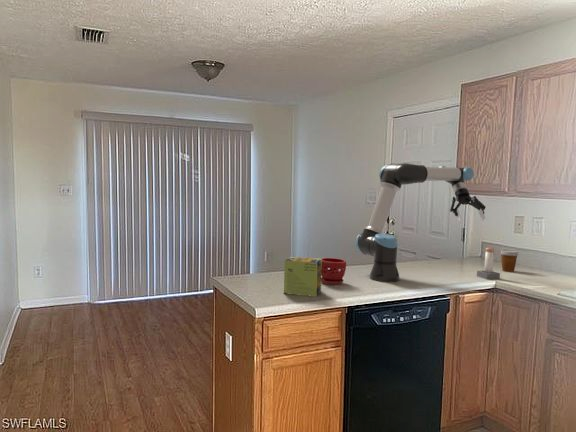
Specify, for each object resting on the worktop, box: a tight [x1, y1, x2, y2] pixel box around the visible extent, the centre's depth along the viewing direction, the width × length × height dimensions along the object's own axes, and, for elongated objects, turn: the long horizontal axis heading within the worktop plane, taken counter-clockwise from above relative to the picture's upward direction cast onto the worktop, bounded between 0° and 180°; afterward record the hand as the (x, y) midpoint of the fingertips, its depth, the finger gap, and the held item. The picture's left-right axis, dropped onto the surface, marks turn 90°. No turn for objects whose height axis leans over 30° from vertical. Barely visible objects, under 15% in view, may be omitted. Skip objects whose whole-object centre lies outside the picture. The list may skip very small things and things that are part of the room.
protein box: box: [283, 256, 322, 297], centre depth 202 cm, size 10×15×16 cm
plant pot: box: [321, 257, 347, 286], centre depth 222 cm, size 13×13×12 cm
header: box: [476, 269, 501, 280], centre depth 238 cm, size 8×8×4 cm
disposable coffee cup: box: [500, 249, 519, 273], centre depth 262 cm, size 10×10×12 cm
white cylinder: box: [483, 247, 495, 273], centre depth 237 cm, size 4×4×16 cm
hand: (471, 219), depth 252 cm, fingers open, 13 cm apart
